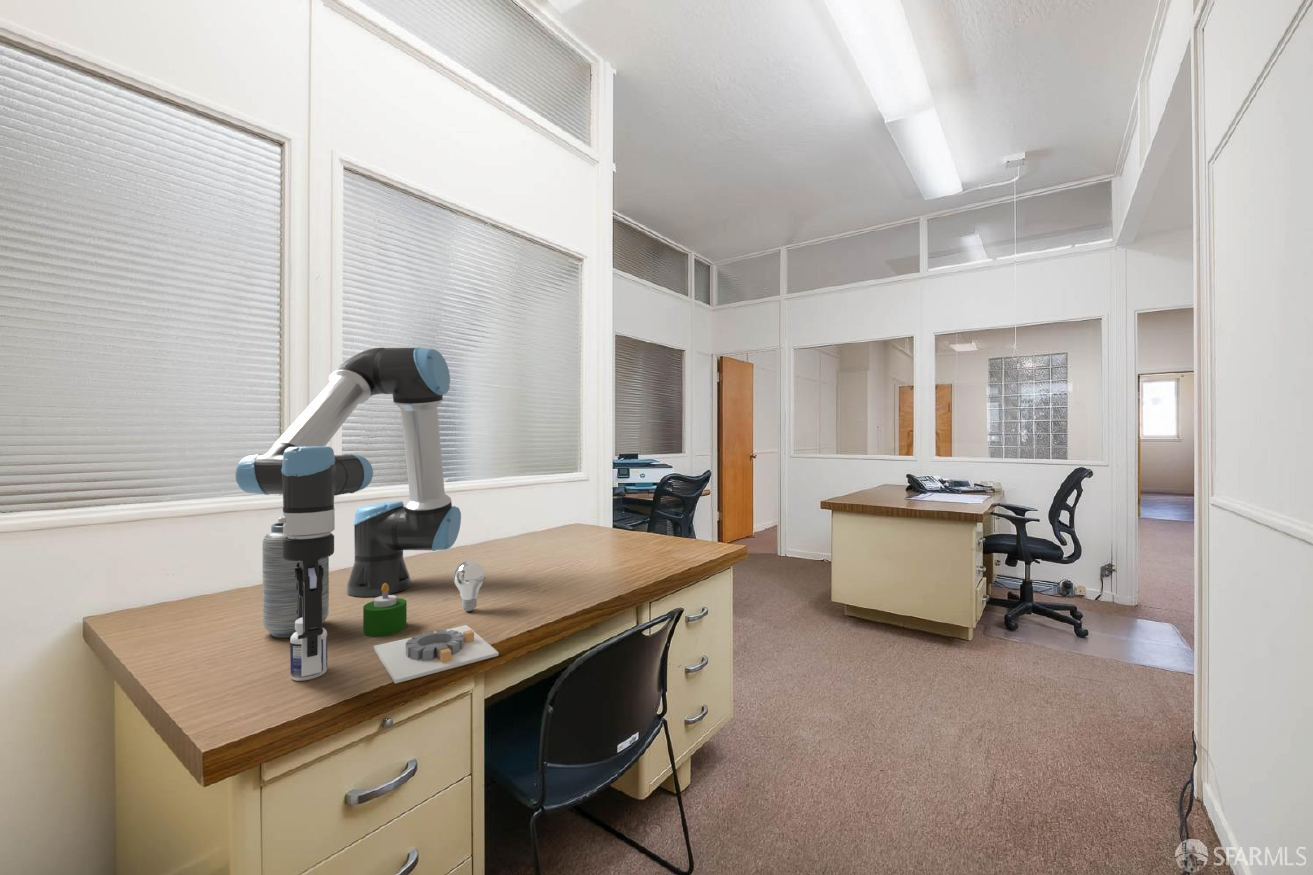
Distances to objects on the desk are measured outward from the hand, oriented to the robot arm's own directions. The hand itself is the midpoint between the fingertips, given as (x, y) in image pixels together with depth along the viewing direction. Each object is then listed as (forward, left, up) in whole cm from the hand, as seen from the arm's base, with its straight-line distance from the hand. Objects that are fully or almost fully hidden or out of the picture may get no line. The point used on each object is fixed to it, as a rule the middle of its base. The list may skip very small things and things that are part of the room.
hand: (309, 665), depth 91 cm
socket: (+4, +20, -2) cm, 20 cm away
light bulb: (-15, +33, -2) cm, 36 cm away
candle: (-15, +15, -2) cm, 21 cm away
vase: (-26, 0, -2) cm, 26 cm away
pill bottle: (0, 0, -2) cm, 2 cm away
